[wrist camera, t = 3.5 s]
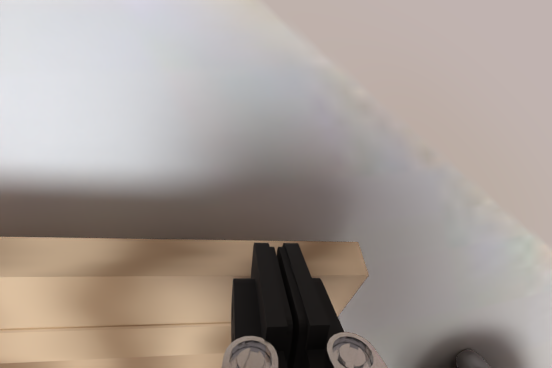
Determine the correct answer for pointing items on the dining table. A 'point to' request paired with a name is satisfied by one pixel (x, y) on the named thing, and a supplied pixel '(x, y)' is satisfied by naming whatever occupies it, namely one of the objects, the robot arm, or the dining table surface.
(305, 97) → the dining table surface
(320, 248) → the board
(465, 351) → the piggy bank
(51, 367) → the laid planks
